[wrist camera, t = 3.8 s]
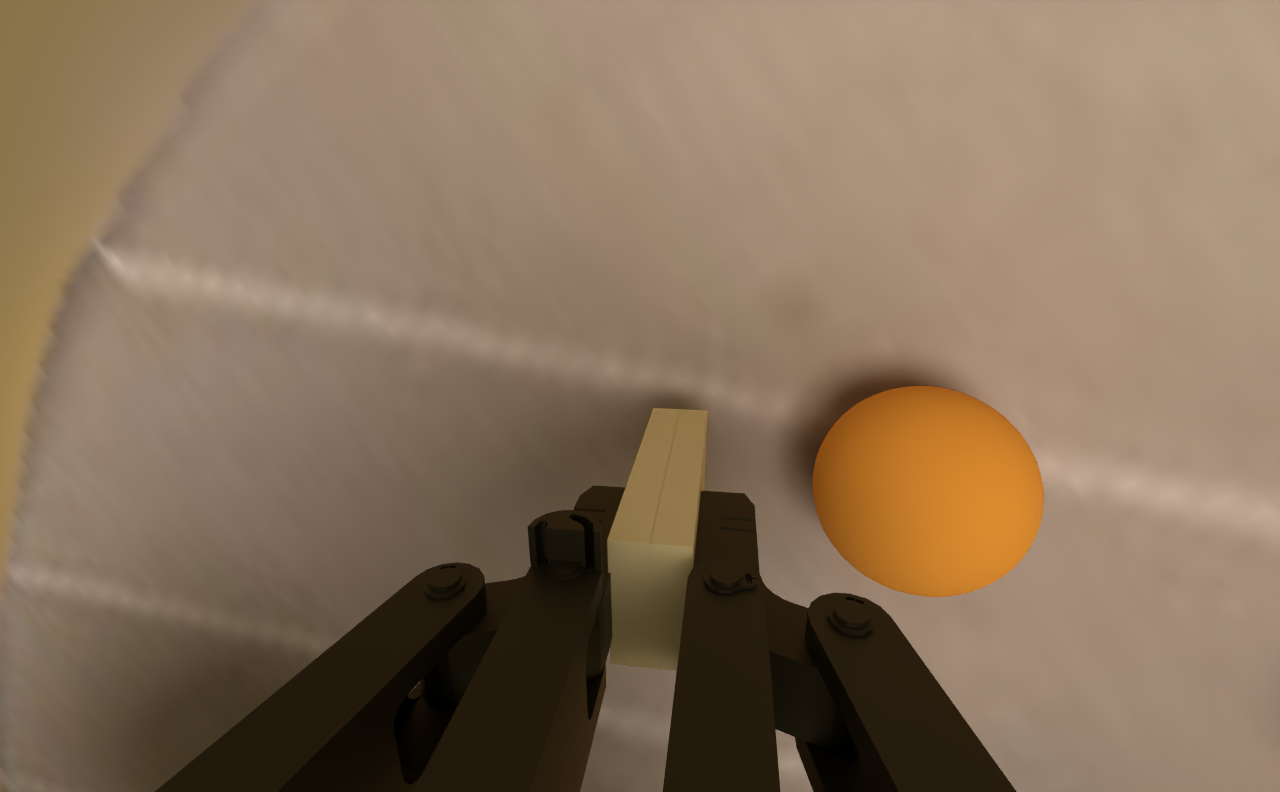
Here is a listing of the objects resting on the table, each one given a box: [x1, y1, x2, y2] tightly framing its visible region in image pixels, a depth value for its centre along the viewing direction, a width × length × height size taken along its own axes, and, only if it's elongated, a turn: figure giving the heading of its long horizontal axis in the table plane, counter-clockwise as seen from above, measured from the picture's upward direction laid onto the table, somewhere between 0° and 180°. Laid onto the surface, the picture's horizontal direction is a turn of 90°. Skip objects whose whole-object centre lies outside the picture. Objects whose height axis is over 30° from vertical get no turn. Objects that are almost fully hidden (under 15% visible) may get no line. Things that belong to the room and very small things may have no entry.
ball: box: [813, 386, 1044, 597], centre depth 16 cm, size 6×6×6 cm
